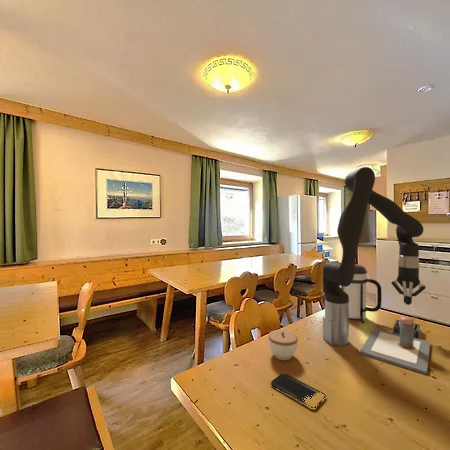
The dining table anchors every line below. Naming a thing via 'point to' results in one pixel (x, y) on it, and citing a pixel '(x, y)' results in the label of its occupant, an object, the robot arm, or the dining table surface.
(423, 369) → the drawing board
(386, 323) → the dining table surface
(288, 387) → the phone
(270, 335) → the lidded jar
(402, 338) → the grey cylindrical piece
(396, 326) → the button housing
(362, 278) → the coffee press
